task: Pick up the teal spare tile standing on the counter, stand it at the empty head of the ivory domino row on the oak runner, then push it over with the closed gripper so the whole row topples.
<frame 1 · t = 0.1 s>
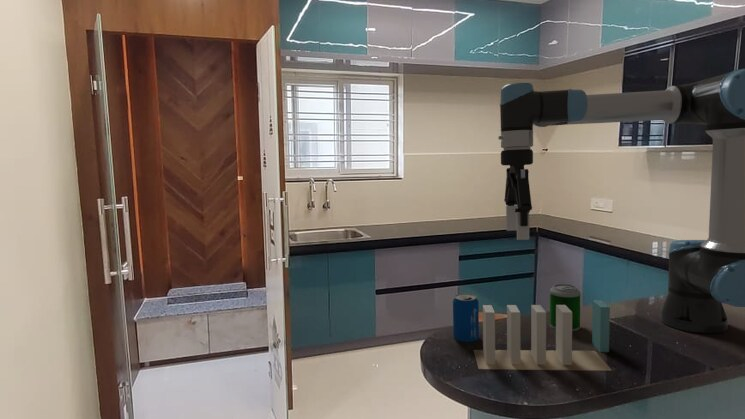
hand: (517, 234, 113), 28 cm above the table, fingers open, 13 cm apart
tile 5: (489, 359, 104), point 1 cm above the table, touching runner
runner: (538, 364, 103), on the table
head tile: (600, 352, 108), on the table
tile 2: (563, 359, 103), point 1 cm above the table, touching runner
soda can: (564, 330, 123), on the table
tile 4: (513, 359, 104), point 1 cm above the table, touching runner
tile 3: (538, 359, 103), point 1 cm above the table, touching runner
beverage can: (466, 342, 118), on the table
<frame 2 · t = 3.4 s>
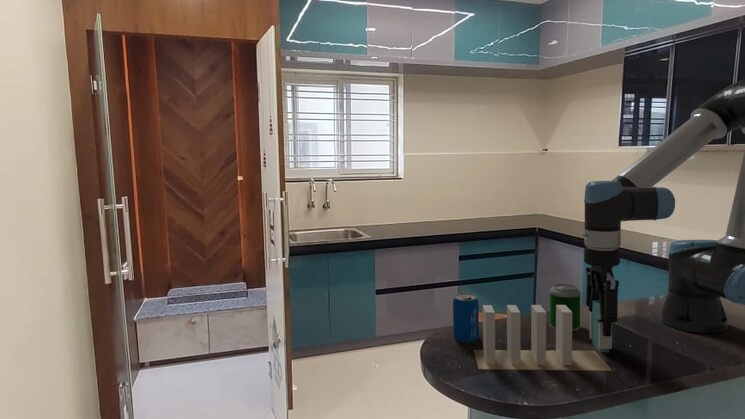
hand: (600, 343, 108), 2 cm above the table, fingers closed on head tile, 5 cm apart
head tile: (600, 352, 108), on the table, touching gripper
everything else where it was.
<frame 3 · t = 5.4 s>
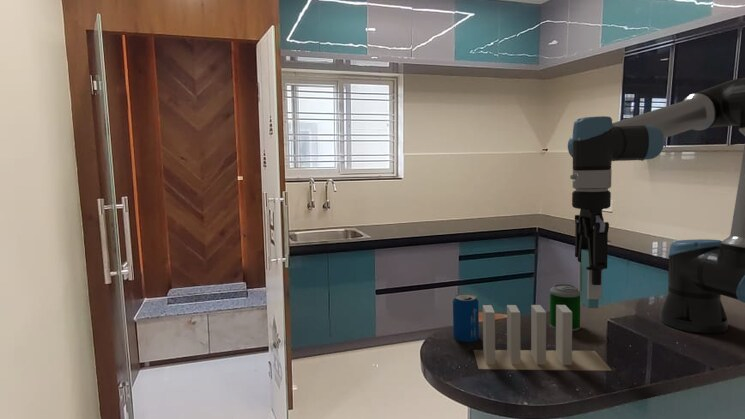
hand: (589, 294, 100), 16 cm above the table, fingers closed on head tile, 5 cm apart
head tile: (589, 304, 101), point 14 cm above the table, touching gripper
everything else where it was.
when the fingers open (4 cm above the table, at t = 7.8 s): head tile stays where it is, resting on runner.
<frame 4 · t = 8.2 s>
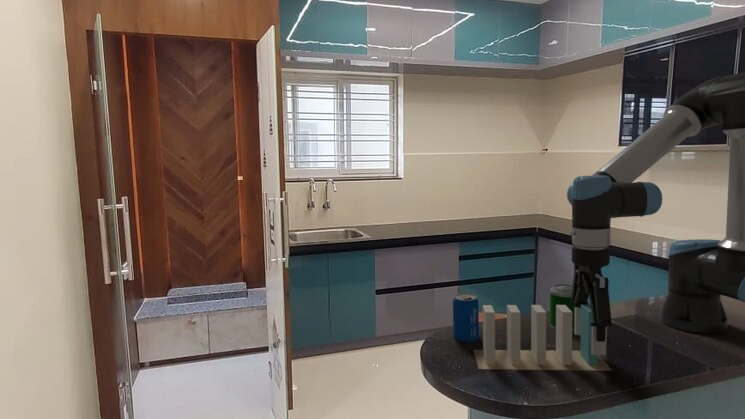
hand: (589, 343, 102), 5 cm above the table, fingers open, 10 cm apart
head tile: (588, 360, 102), point 1 cm above the table, touching runner
everything else where it was.
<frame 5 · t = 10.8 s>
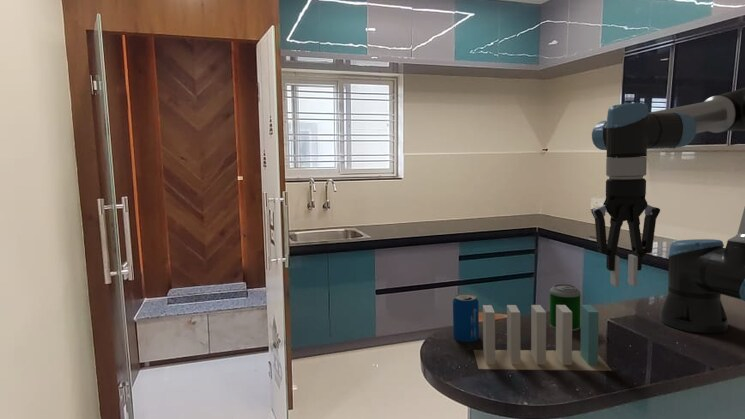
hand: (623, 284, 99), 19 cm above the table, fingers open, 3 cm apart
nothing on the table moved.
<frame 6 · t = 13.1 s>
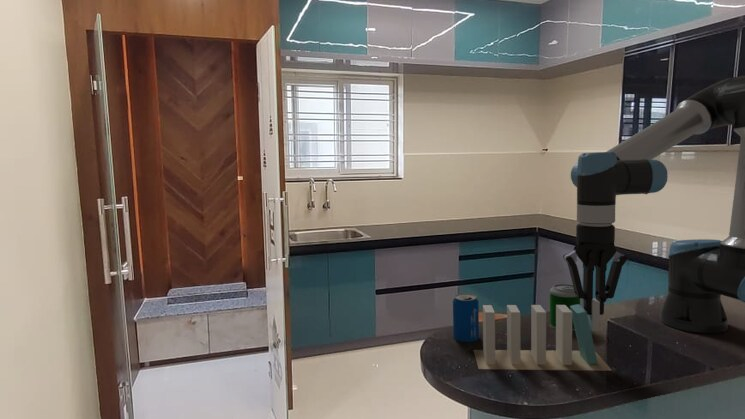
hand: (593, 328, 101), 9 cm above the table, fingers closed
head tile: (588, 359, 102), point 1 cm above the table, tilted 12°, touching runner
everything else where it was.
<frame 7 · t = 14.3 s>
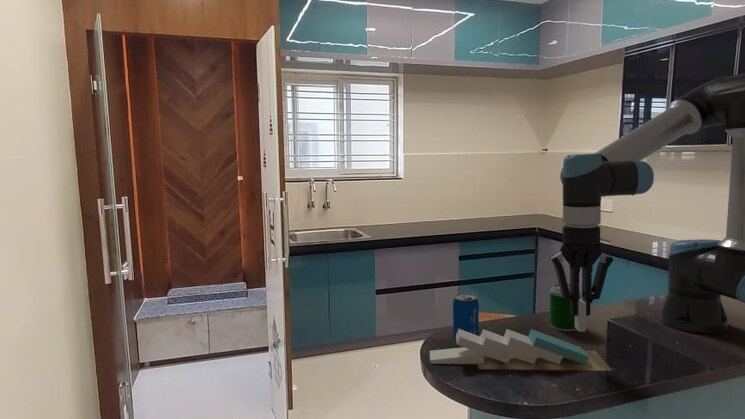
hand: (580, 329, 101), 8 cm above the table, fingers closed
tile 5: (482, 354, 104), point 2 cm above the table, tilted 97°, touching runner, tile 4
head tile: (583, 355, 102), point 2 cm above the table, tilted 69°, touching runner, tile 2
tile 2: (557, 355, 103), point 2 cm above the table, tilted 69°, touching head tile, tile 3
tile 4: (507, 355, 104), point 2 cm above the table, tilted 69°, touching tile 3, tile 5
tile 3: (533, 355, 103), point 2 cm above the table, tilted 69°, touching runner, tile 2, tile 4
everything else where it was.
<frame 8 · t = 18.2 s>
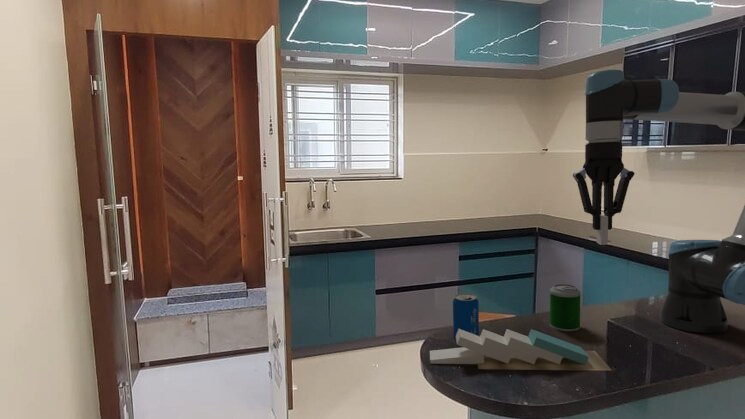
hand: (601, 243, 105), 26 cm above the table, fingers closed
nothing on the table moved.
at the end: tile 5 tilted 97°; head tile tilted 69°; head tile inside the target area (0.8 cm from its centre), point 2.1 cm above the table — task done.
